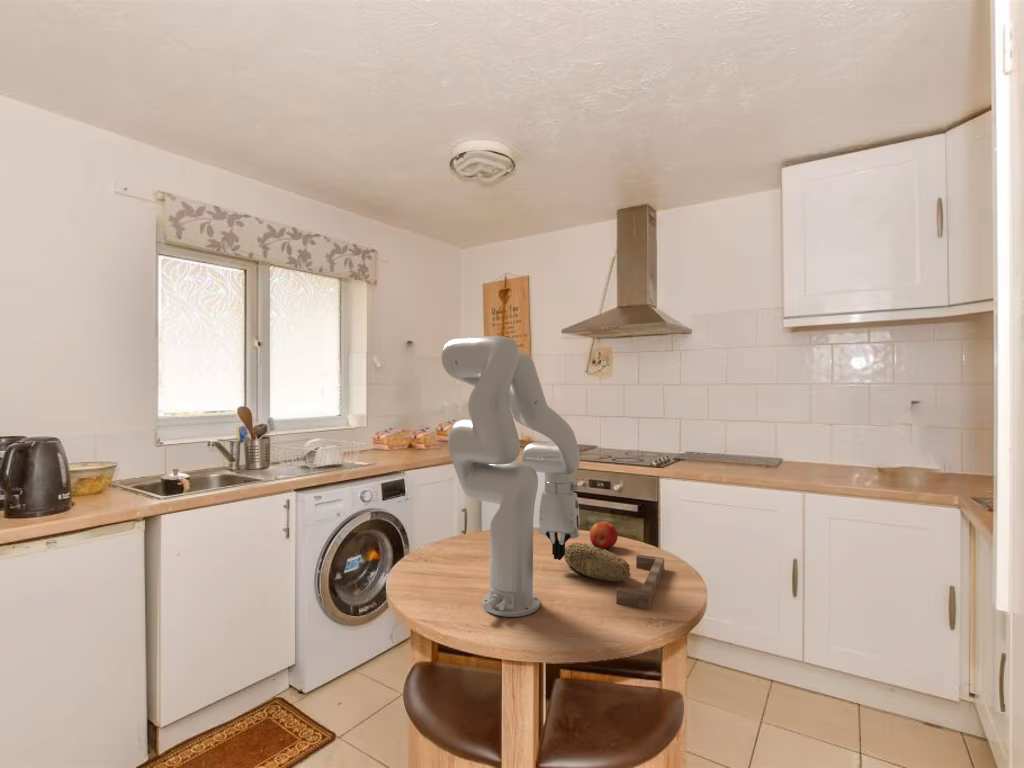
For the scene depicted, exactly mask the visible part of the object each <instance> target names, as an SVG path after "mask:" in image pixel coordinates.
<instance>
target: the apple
mask: <svg viewBox="0 0 1024 768" xmlns="http://www.w3.org/2000/svg"><path fill="white" fill-rule="evenodd" d="M618 538H619V536H618V532H617V528H616V527H615V526H614V525H613V524H612V523H610V522H608V521H606V520H604V521H603V520H602V521H598V522H596V523H594V525H592V526H591V528H590V532H589V540H590V542H591V544H592V545H593V547H597V548H601V549H605V550H607V549H611V548H612V547H613V546H614V545H616V543H617V542H618Z"/></svg>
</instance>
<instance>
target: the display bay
mask: <svg viewBox="0 0 1024 768" xmlns="http://www.w3.org/2000/svg"><path fill="white" fill-rule="evenodd" d="M635 559H636V560H635V563H636V565H635V567H637V568H636V569H640V568H644V569H643V570H647V569H650V570H649V572H648V574H647V577H646V578H645V580H644V583H643V585H642V587H641V589H640V590H639V589H633V588H627V587H621V586H618V587H617V588H616V591H615V592H616V593H615V594H616V598H615V599H616V605H623V606H627V607H635V608H639V609H645V610H649V609H650V606H651V604H652V602H653V599H654V597H655V594H656V592H657V589H658V587H657V586H659V584H660V582H661V579H660V578H662V576H663V574H662V573H664V572H665V557H660V556H659V557H658V556H653V555H652V556H650V555H645V554H637V555H636V556H635ZM659 581H660V582H659ZM658 583H659V584H658ZM655 591H656V592H655Z"/></svg>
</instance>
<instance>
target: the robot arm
mask: <svg viewBox="0 0 1024 768" xmlns="http://www.w3.org/2000/svg"><path fill="white" fill-rule="evenodd" d="M441 363H442V366H443V369H444V370H445V372H446V373H447V374H448V375H449V376H450V377H452V378H454V379H456V380H458V381H460V382H463V383H465V384H468V385H471V386H473V387H474V388H473V389H472V391H471V393H470V395H469V398H468V402H467V411H468V415H469V417H470V418H464V419H461V420H458V421H457V422H456V423H454V424H453V426H452V427H451V428H450V431H449V434H448V440H447V441H448V443H447V445H448V452H449V456H450V459H451V462H452V464H453V466H454V467H453V468H454V470H455V473H456V476H457V478H458V481H459V483H460V486H461V488H462V490H463V493H465V495H466V496H467V497H469V499H472V500H474V501H480V502H487V503H493V504H498V505H499V508H498V509H497V511H496V513H495V514H494V515H493V517H492V519H491V522H490V527H489V592H488V593H487V594H486V595H485V596H483V598H482V607H483V610H484V611H486V613H490V614H493V615H495V616H499V617H507V618H508V617H509V618H512V617H514V618H515V617H517V618H518V617H524V616H525V617H526V616H528V615H531V614H533V613H535V612H536V611H537V610H538V609H539V608H540V605H541V604H540V603H541V601H540V597H539V596H538V595H536V593H534V591H533V589H534V514H535V506H536V505H535V504H536V499H537V492H538V487H539V477H538V473H544V490H543V492H542V493H541V494H542V495H541V498H540V503H539V510H538V511H539V512H538V527H539V529H538V532H539V534H541V535H543V536H546V537H547V538H548V539H549V541H550V544H552V546H551V547H552V550H551V552H552V555H553V559H554V560H558V561H561V560H562V559H563V558H564V555H565V548H566V543H567V541H569V540H570V539H572V540H573V539H577V538H578V537H579V536H580V532H579V529H580V525H581V520H580V519H581V518H580V507H579V500H578V494H577V492H575V491H579V488H580V486H579V484H575V481H574V473H576V471H577V470H578V469H579V466H580V464H581V455H580V449H579V445H578V441H577V439H576V438H577V437H576V435H575V433H574V430H573V428H572V427H571V425H570V424H569V423H568V422H567V421H566V420H565V419H564V418H563V417H562V416H561V415H560V414H559V413H557V412H556V410H553V409H552V407H550V406H549V405H548V404H547V400H546V396H545V393H544V391H543V388H542V384H541V382H540V378H539V373H538V371H537V368H536V366H535V362H534V360H533V358H532V357H531V356H530V355H529V354H527V353H525V352H523V351H522V352H521V351H519V347H518V345H517V342H516V341H515V340H514V339H512V338H511V337H507V336H503V335H487V336H485V335H484V336H473V337H472V336H471V337H457V338H454V339H453V338H452V339H451V340H449V341H448V342H447V343H445V345H444V346H443V347H442V351H441ZM515 422H517V423H518V424H520V425H521V426H524V427H525V428H528V429H530V430H532V431H535V432H536V433H539V434H541V435H543V436H545V437H546V438H548V439H549V440H548V441H547V442H546V441H545V442H543V441H533V442H531V443H528V444H527V445H526V446H525V447H524V448H523V451H522V453H521V454H522V455H521V461H522V462H521V461H516V460H517V459H518V457H519V456H520V452H521V442H520V439H519V434H518V431H517V428H516V424H515ZM558 533H560V535H558Z"/></svg>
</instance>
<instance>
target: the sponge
mask: <svg viewBox="0 0 1024 768" xmlns="http://www.w3.org/2000/svg"><path fill="white" fill-rule="evenodd" d="M563 558H564V560H565V563H566V564H567V565H568V566H570V567H571V568H573V569H574V570H575V571H576V572H577V573H579V574H582V575H584V576H585V577H589V578H592V579H595V580H601V581H607V582H624V581H625V580H629V578H630V577H631V572H630V571H631V567H630V564H629V563H628V562H627V561H626V559H624V558H622V557H620V556H619V555H618V554H615V553H614V552H611V551H610V550H607V549H601V548H597V547H595V546H590V545H588V544H586V543H581V542H572V543H569V544H568V545H565V555H564V556H563Z"/></svg>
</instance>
